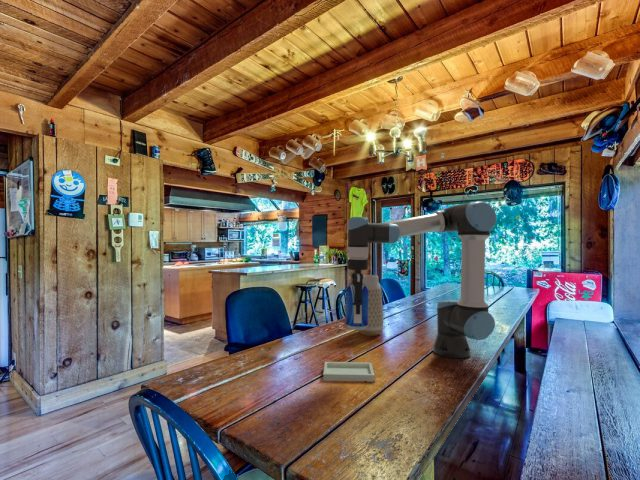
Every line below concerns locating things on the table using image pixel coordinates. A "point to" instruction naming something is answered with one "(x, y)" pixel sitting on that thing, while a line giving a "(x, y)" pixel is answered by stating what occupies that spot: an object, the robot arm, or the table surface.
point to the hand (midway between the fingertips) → (356, 320)
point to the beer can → (350, 308)
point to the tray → (348, 371)
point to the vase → (373, 306)
